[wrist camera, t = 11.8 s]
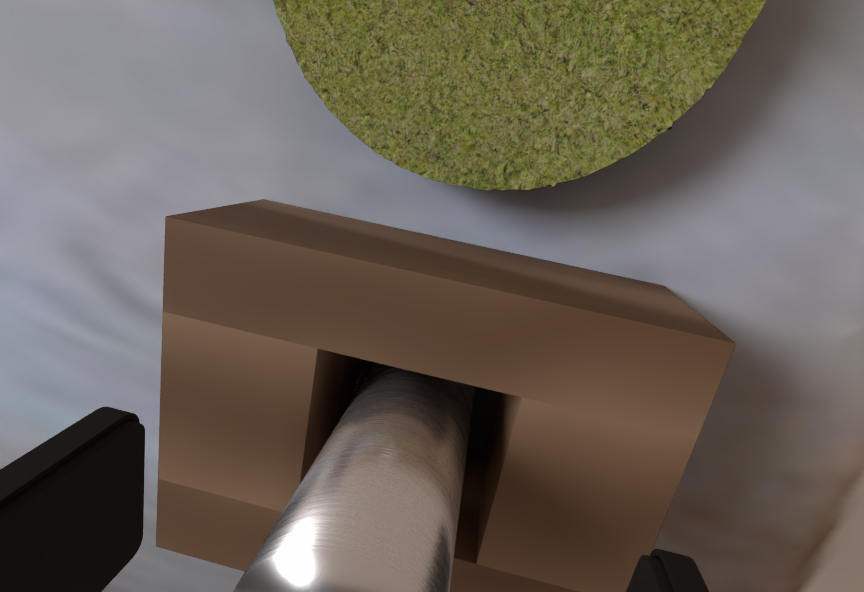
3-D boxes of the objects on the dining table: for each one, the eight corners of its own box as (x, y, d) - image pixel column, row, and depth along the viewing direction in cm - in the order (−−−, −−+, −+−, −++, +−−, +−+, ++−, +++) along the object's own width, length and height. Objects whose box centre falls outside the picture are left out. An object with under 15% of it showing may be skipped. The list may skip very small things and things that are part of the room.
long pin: (464, 432, 16) (418, 748, 7) (370, 409, 16) (220, 688, 8) (485, 343, 15) (461, 588, 6) (385, 319, 15) (234, 525, 7)
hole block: (576, 537, 16) (602, 671, 12) (241, 450, 17) (156, 546, 13) (664, 285, 14) (736, 343, 10) (263, 199, 15) (165, 216, 10)
